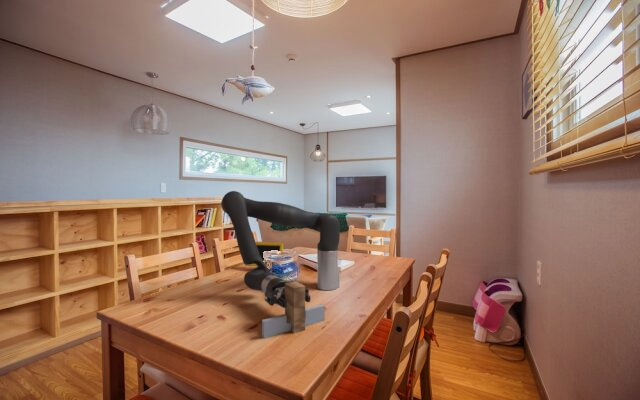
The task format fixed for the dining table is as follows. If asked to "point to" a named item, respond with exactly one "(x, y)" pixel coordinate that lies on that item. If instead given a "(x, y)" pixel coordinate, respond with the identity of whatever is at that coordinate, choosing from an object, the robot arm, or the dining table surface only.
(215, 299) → the dining table surface
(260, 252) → the alarm clock
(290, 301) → the walnut block
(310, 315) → the slate rail
